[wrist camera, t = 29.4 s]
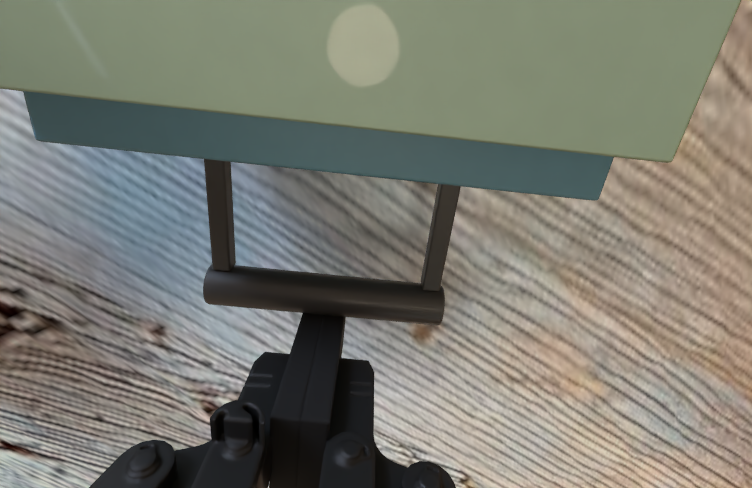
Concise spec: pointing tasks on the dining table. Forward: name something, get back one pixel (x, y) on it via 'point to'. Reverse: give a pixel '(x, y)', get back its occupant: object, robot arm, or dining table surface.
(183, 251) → the dining table surface
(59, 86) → the cabinet
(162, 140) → the drawer
